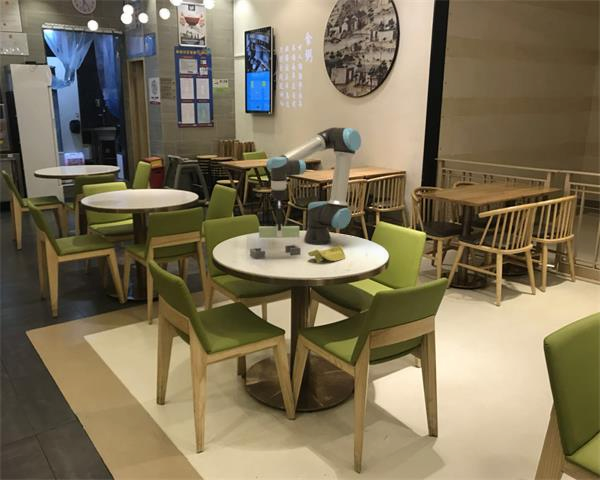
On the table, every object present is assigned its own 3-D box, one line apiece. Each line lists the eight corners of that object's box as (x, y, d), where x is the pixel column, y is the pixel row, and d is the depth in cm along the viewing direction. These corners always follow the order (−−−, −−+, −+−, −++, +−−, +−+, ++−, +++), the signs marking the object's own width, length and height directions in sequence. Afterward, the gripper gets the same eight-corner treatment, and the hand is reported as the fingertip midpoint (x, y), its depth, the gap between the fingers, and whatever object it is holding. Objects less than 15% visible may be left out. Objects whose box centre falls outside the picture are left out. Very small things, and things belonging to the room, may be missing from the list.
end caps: (294, 251, 275) (295, 244, 274) (300, 254, 269) (300, 248, 268) (250, 255, 265) (250, 248, 265) (254, 258, 259) (254, 252, 258)
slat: (259, 237, 256) (258, 227, 254) (259, 236, 259) (259, 226, 258) (299, 237, 257) (299, 227, 255) (298, 235, 260) (299, 226, 259)
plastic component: (327, 249, 270) (342, 244, 264) (331, 263, 270) (346, 258, 263) (303, 254, 255) (319, 248, 249) (308, 268, 254) (323, 263, 248)
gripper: (287, 191, 244) (287, 239, 250) (286, 186, 260) (286, 231, 266) (271, 191, 244) (271, 239, 249) (271, 186, 260) (271, 231, 265)
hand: (279, 235), depth 258 cm, fingers closed on slat, 3 cm apart
